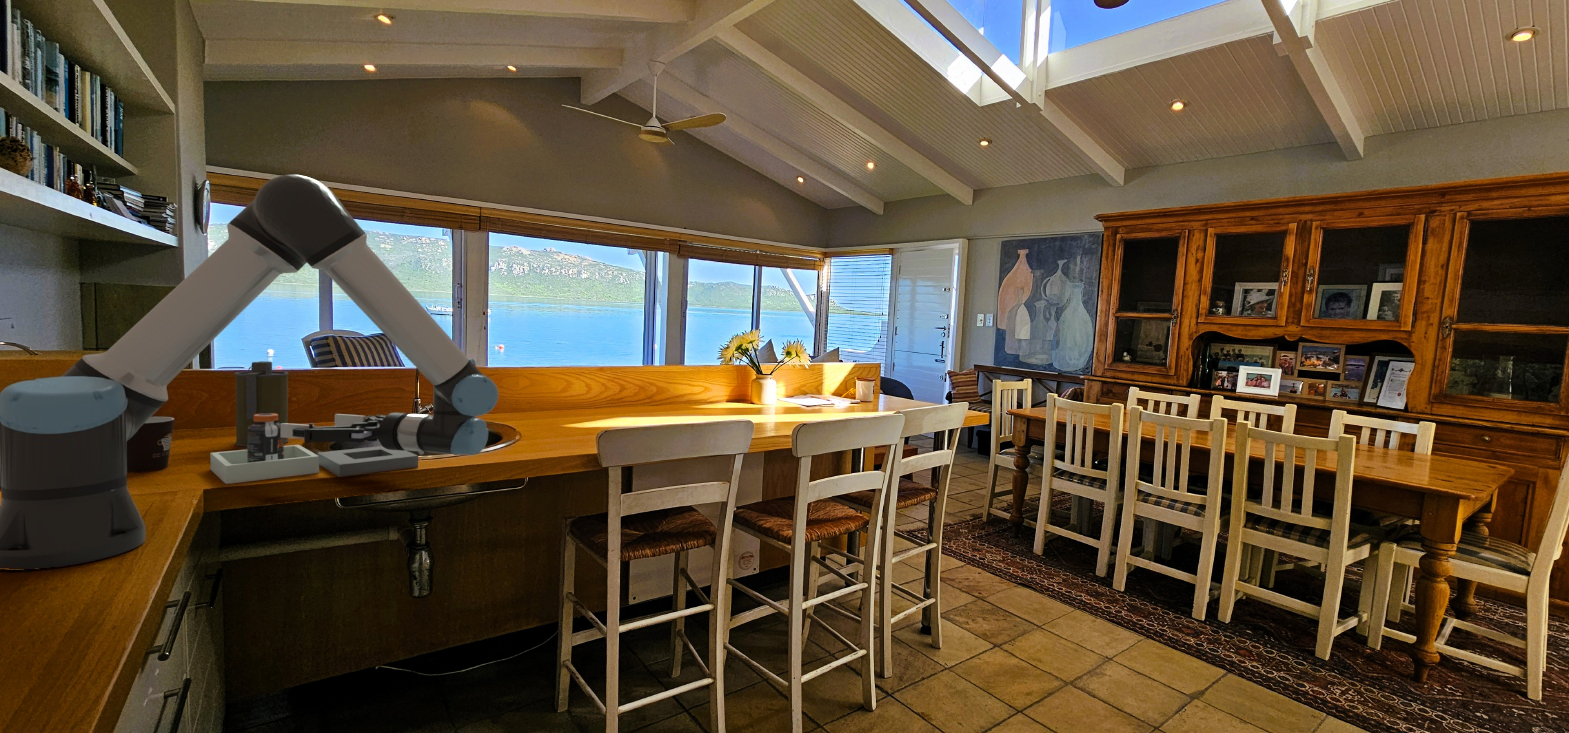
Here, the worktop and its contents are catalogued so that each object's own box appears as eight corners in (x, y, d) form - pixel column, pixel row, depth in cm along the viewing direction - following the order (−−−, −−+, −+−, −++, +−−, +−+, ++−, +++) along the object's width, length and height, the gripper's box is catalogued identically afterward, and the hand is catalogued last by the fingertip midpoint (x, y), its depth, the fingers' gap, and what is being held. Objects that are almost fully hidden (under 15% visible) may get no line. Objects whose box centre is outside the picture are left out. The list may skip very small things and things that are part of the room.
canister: (247, 439, 166) (246, 359, 164) (296, 438, 169) (295, 361, 168) (225, 447, 156) (224, 363, 154) (277, 447, 159) (277, 364, 157)
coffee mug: (138, 475, 129) (137, 424, 128) (104, 471, 130) (102, 421, 130) (201, 463, 140) (201, 416, 139) (169, 459, 142) (168, 413, 141)
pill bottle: (284, 469, 136) (284, 415, 135) (247, 472, 132) (247, 416, 132) (282, 463, 141) (282, 411, 140) (247, 466, 137) (246, 412, 136)
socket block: (418, 466, 146) (418, 455, 146) (339, 476, 135) (339, 464, 135) (392, 455, 156) (392, 444, 156) (317, 463, 145) (317, 452, 144)
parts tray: (319, 472, 137) (319, 456, 137) (226, 484, 126) (225, 466, 126) (298, 460, 147) (298, 444, 147) (210, 469, 136) (210, 452, 135)
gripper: (362, 463, 121) (256, 454, 123) (445, 439, 146) (355, 433, 148) (363, 422, 120) (256, 414, 122) (445, 406, 145) (355, 400, 147)
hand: (310, 424), depth 135 cm, fingers open, 13 cm apart
